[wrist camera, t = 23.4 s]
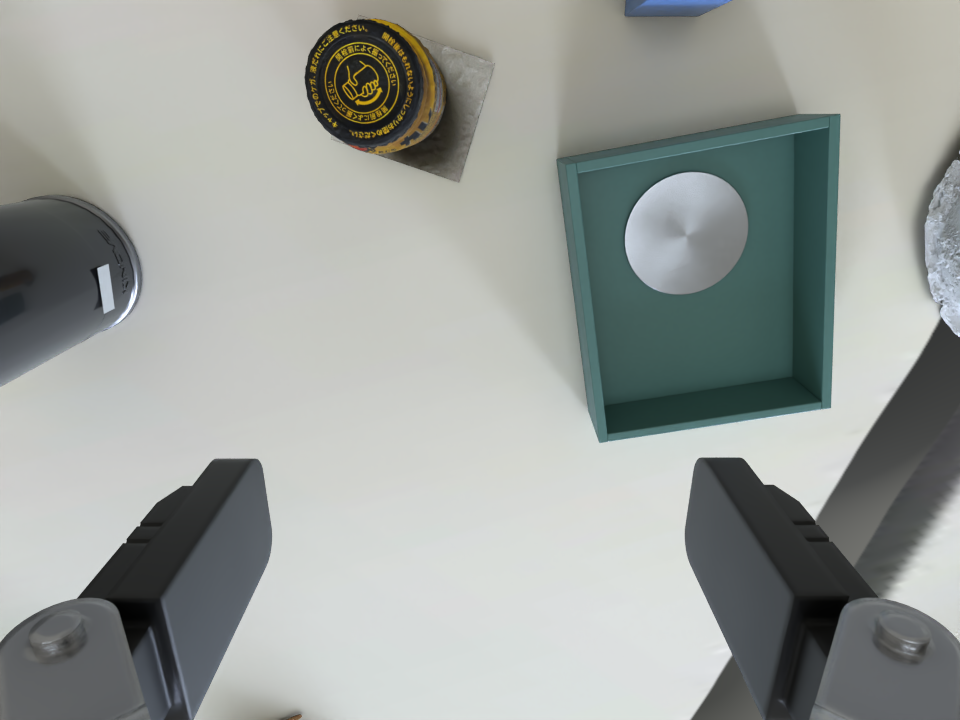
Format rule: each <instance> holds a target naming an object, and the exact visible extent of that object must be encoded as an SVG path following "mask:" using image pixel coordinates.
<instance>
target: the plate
mask: <svg viewBox="0 0 960 720" xmlns="http://www.w3.org/2000/svg"><path fill="white" fill-rule="evenodd" d="M748 227H749V223H748V215H747V210H746V207H745V205H744V202H743V200H742V198H741V197H740V195H739V193H738V192H737V191H736V190H735V188H734V187H732V186H731V185H730V184H729V183H728V182H726V181H725V180H724V179H722V178H720V177H718V176H716V175H713V174H710V173H706V172H700V171H685V172H679V173H675V174H672V175H669V176H666V177H664V178H662V179H660V180H659V181H657V182H655V183H654V184H653V185H651V186H650V187H649V188H648V189H647V190H645V191H644V192H643V193H642V195H641V196H640V197H639V198H638V199H637V201H636V202H635V204H634V205H633V207H632V209H631V211H630V213H629V215H628V218H627V220H626V224H625V228H624V237H623V238H624V250H625V255H626V258H627V261H628V263H629V265H630V267H631V269H632V270H633V272H634V273H635V274H636V275H637V277H638V278H639V279H640V280H641V281H643V282H644V283H645V284H646V285H648V286H649V287H651V288H653V289H655V290H657V291H659V292H663V293H666V294H673V295H685V294H692V293H696V292H699V291H702V290H705V289H707V288H709V287H711V286H713V285H714V284H716V283H717V282H719V281H720V280H721V279H723V278H724V277H725V276H726V275H727V274H728V273H729V272H730V271H731V270H732V269H733V267H734V266H735V265H736V264H737V262H738V260H739V259H740V257H741V255H742V253H743V250H744V248H745V245H746V242H747V237H748Z"/></svg>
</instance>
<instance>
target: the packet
mask: <svg viewBox="0 0 960 720" xmlns="http://www.w3.org/2000/svg"><path fill="white" fill-rule="evenodd" d="M730 1H732V0H626V6H625V16H700V15H702V14H704V13H706V12H708V11H711V10H713V9H715V8H717V7H719V6H721V5H723V4H725V3H728V2H730Z"/></svg>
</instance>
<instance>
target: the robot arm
mask: <svg viewBox="0 0 960 720" xmlns="http://www.w3.org/2000/svg"><path fill="white" fill-rule="evenodd" d="M141 281H142V280H141V268H140V264H139V260H138V257H137V254H136V252H135V249H134V247H133V245H132V243H131V242H130V240H129V238H128V237H127V235H126V234H125V233H124V231H123V230H122V229H121V228H120V227H119V226H118V224H117V223H116V222H115V221H113V220H112V219H111V218H110V217H109V216H108V215H106V214H105V213H104V212H102V211H101V210H99V209H98V208H96V207H94V206H93V205H91V204H89V203H87V202H84V201H82V200H79V199H76V198H72V197H67V196H60V195H47V196H40V197H35V198H31V199H27V200H25V201H22V202H18V203H12V204H6V205H0V387H1V386H3V385H5V384H7V383H9V382H10V381H12V380H14V379H16V378H18V377H19V376H21V375H23V374H25V373H27V372H28V371H30V370H32V369H34V368H36V367H37V366H39V365H41V364H43V363H45V362H46V361H48V360H50V359H52V358H54V357H55V356H57V355H59V354H61V353H63V352H64V351H66V350H68V349H70V348H72V347H73V346H75V345H77V344H79V343H81V342H83V341H85V340H86V339H88V338H90V337H92V336H94V335H95V334H97V333H99V332H102V331H105V330H107V329H109V328H111V327H113V326H115V325H116V324H118V323H120V322H121V321H122V320H124V319H125V318H126V317H127V316H128V315H129V314H130V313H131V311H132V310H133V308H134V307H135V305H136V303H137V301H138V298H139V295H140V290H141ZM271 545H272V528H271V521H270V515H269V508H268V501H267V494H266V488H265V481H264V474H263V469H262V465H261V463H260V461H259V460H258V459H214V460H213V461H212V462H211V463H210V464H209V465H208V466H207V468H206V469H205V470H204V472H203V473H202V474H201V475H200V477H199V478H198V479H197V481H196V482H195V483H194V484H193V486H182V487H180V488H179V489H177V490H176V491H174V492H173V493H171V494H170V495H168V496H167V497H165V498H164V499H162V500H161V501H159V502H158V503H156V505H155V506H154V507H153V508H152V509H151V511H150V512H149V513H148V514H147V515H146V517H145V518H144V519H143V520H142V521H141V525H140V527H136V529H135V530H134V531H133V532H132V533H131V535H130V536H129V537H128V538H127V542H126V543H123V544H122V545H121V547H120V548H119V549H118V550H117V551H116V553H115V554H114V555H113V556H112V557H111V559H110V560H109V561H108V562H107V563H106V564H105V566H104V567H103V568H102V569H101V570H100V572H99V573H98V574H97V575H96V576H95V578H94V579H93V580H92V581H91V582H90V584H89V585H88V586H87V587H86V588H85V590H84V591H83V592H82V593H81V594H80V596H79V597H78V598H77V599H73V600H69V601H65V602H62V603H59V604H55V605H53V606H50V607H48V608H46V609H43V610H41V611H39V612H38V613H36V614H34V615H32V616H30V617H29V618H27V619H26V620H24V621H23V622H21V623H20V624H19V625H17V626H16V627H15V628H14V629H13V630H11V631H10V632H9V633H8V634H7V635H6V636H5V638H4V639H3V640H2V641H1V642H0V720H193V719H194V717H195V715H196V713H197V711H198V709H199V707H200V705H201V703H202V700H203V698H204V696H205V694H206V692H207V690H208V688H209V686H210V684H211V682H212V679H213V677H214V675H215V673H216V671H217V669H218V667H219V665H220V663H221V660H222V658H223V656H224V654H225V652H226V650H227V648H228V646H229V644H230V642H231V639H232V637H233V635H234V633H235V631H236V629H237V627H238V625H239V623H240V620H241V618H242V616H243V614H244V612H245V610H246V608H247V606H248V604H249V602H250V599H251V597H252V595H253V593H254V591H255V589H256V587H257V585H258V583H259V581H260V578H261V576H262V574H263V572H264V570H265V568H266V566H267V563H268V560H269V557H270V552H271ZM685 545H686V552H687V556H688V560H689V562H690V565H691V567H692V569H693V571H694V573H695V576H696V578H697V580H698V582H699V584H700V586H701V588H702V590H703V593H704V595H705V597H706V599H707V601H708V603H709V605H710V608H711V610H712V612H713V614H714V616H715V618H716V620H717V622H718V625H719V627H720V629H721V631H722V633H723V635H724V637H725V639H726V642H727V644H728V646H729V648H730V650H731V652H732V654H733V657H734V659H735V661H736V663H737V665H738V667H739V669H740V671H741V674H742V676H743V678H744V680H745V682H746V684H747V686H748V688H749V691H750V693H751V695H752V697H753V699H754V701H755V703H756V705H757V708H758V710H759V712H760V714H761V716H762V718H763V720H960V642H959V641H958V640H957V639H956V638H955V636H954V635H953V634H952V633H951V632H950V631H949V630H947V629H946V628H945V627H944V626H943V625H941V624H940V623H939V622H937V621H936V620H934V619H933V618H931V617H930V616H928V615H926V614H924V613H922V612H921V611H919V610H917V609H914V608H912V607H910V606H907V605H905V604H901V603H898V602H895V601H891V600H887V599H880V598H878V596H877V595H876V594H875V593H874V591H873V590H872V589H871V588H870V587H869V585H868V584H867V583H866V582H865V581H864V579H863V578H862V577H861V576H860V575H859V573H858V572H857V571H856V570H855V569H854V567H853V566H852V565H851V564H850V563H849V561H848V560H847V559H846V558H845V556H844V555H843V554H842V553H841V552H840V550H839V549H838V548H837V547H836V546H835V544H834V543H833V542H829V537H828V536H827V535H826V534H825V532H824V531H823V530H822V529H821V528H820V526H819V525H816V524H815V520H814V519H813V518H812V517H811V515H810V514H809V513H808V512H807V511H806V509H805V508H804V507H803V506H802V505H801V503H800V502H799V501H797V500H796V499H794V498H793V497H791V496H790V495H788V494H787V493H785V492H784V491H782V490H781V489H779V488H778V487H776V486H775V485H764V484H763V483H762V482H761V481H760V479H759V478H758V477H757V475H756V474H755V473H754V471H753V470H752V469H751V468H750V466H749V465H748V464H747V462H746V461H745V460H744V459H742V458H699V459H698V460H697V461H696V464H695V467H694V472H693V478H692V485H691V492H690V499H689V506H688V512H687V519H686V526H685Z"/></svg>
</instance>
